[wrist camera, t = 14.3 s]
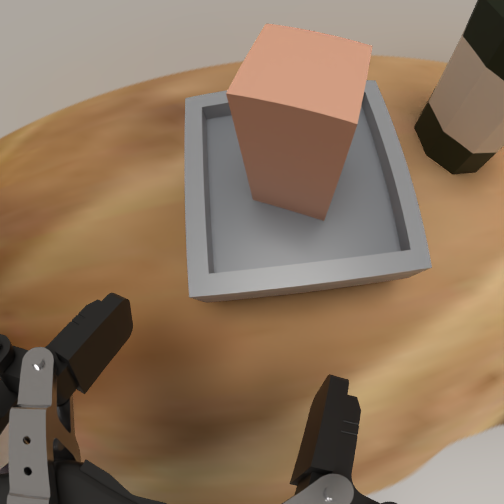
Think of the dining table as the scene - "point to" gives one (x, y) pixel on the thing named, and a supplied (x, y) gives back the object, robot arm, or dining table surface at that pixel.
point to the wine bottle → (469, 96)
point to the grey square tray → (297, 214)
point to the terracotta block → (297, 114)
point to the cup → (4, 446)
